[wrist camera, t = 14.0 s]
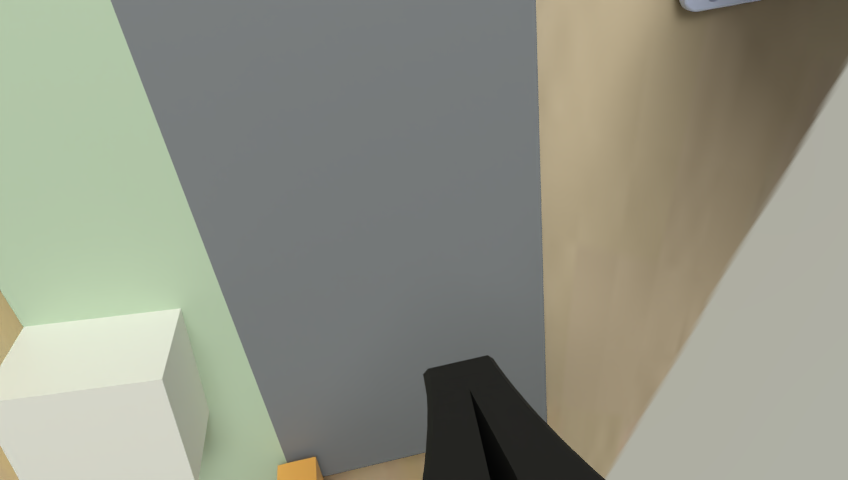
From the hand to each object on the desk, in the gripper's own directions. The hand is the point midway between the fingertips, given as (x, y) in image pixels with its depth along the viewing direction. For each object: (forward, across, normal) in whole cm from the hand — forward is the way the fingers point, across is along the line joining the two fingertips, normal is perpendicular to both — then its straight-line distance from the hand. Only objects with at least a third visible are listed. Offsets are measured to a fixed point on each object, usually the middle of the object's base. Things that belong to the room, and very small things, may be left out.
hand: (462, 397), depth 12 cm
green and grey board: (+10, +4, +2) cm, 11 cm away
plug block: (+9, +11, +5) cm, 15 cm away
